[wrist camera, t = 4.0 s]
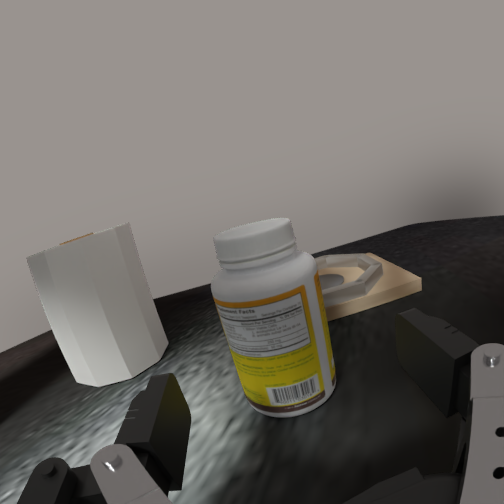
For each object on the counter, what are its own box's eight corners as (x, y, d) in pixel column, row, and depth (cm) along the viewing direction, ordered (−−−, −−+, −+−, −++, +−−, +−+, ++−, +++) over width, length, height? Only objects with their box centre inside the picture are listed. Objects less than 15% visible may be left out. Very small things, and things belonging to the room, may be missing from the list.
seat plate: (251, 341, 26) (244, 316, 25) (245, 295, 37) (240, 276, 37) (421, 290, 26) (420, 265, 25) (371, 261, 38) (368, 243, 37)
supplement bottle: (289, 359, 22) (255, 217, 20) (355, 377, 17) (328, 209, 15) (229, 401, 18) (177, 244, 16) (295, 436, 14) (245, 241, 12)
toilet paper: (121, 333, 34) (87, 234, 32) (188, 336, 30) (150, 214, 27) (58, 376, 25) (11, 261, 23) (119, 396, 21) (58, 244, 18)
